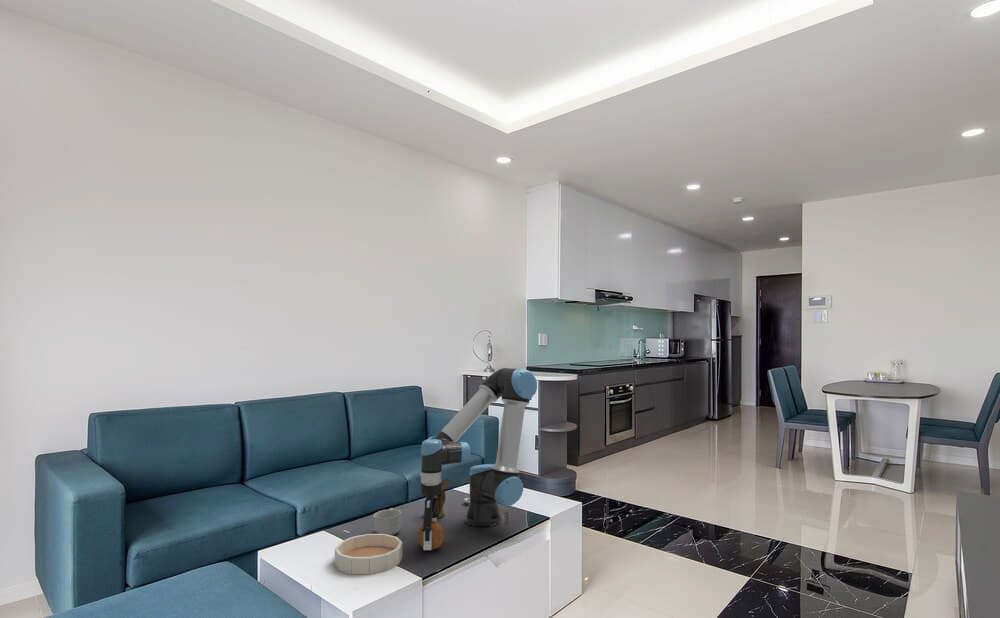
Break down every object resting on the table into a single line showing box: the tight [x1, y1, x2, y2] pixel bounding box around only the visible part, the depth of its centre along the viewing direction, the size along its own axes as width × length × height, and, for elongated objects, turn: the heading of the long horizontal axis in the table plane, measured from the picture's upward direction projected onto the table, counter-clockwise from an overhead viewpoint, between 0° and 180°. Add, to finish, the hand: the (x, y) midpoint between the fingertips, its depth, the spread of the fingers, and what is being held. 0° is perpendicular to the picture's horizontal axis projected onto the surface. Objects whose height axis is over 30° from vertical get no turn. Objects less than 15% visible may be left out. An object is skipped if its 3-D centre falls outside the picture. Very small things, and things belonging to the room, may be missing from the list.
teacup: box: [373, 507, 402, 536], centre depth 210 cm, size 14×11×8 cm
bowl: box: [334, 533, 403, 575], centre depth 183 cm, size 22×22×5 cm
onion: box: [417, 521, 445, 551], centre depth 193 cm, size 10×10×10 cm
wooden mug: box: [422, 476, 451, 520], centre depth 228 cm, size 9×14×18 cm, turn 49°
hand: (430, 542), depth 193 cm, fingers open, 13 cm apart
